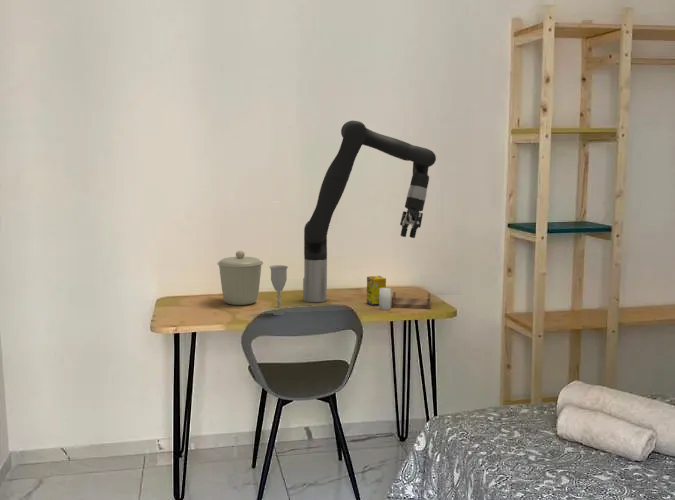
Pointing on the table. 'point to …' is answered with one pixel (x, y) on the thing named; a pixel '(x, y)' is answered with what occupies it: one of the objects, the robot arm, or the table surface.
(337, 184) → the robot arm
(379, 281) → the supplement box
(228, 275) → the canister
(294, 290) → the table surface
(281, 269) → the chalice
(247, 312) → the table surface
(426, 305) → the wooden tray
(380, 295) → the white rounded capsule
